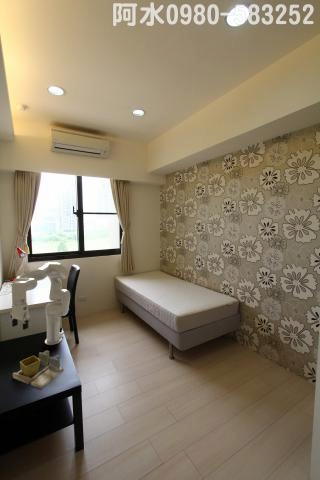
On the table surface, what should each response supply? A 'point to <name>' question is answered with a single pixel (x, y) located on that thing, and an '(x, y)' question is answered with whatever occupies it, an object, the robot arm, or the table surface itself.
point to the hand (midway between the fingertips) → (20, 327)
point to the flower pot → (30, 366)
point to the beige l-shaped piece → (49, 372)
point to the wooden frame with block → (43, 361)
